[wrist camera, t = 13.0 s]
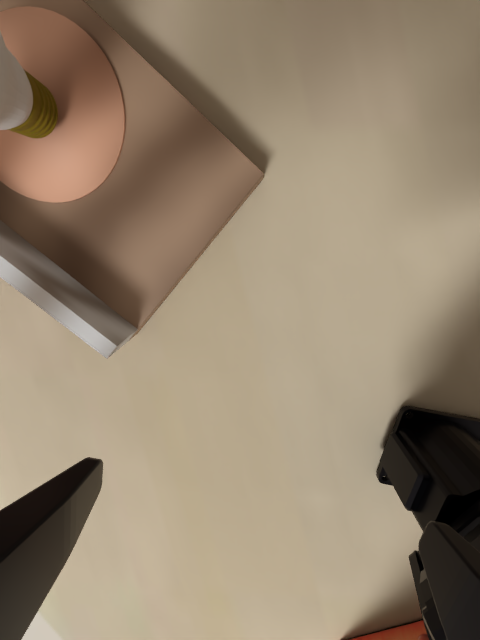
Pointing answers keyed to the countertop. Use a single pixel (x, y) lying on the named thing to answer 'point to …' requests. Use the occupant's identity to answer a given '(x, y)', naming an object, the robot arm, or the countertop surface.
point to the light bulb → (24, 99)
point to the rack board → (107, 178)
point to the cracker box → (399, 633)
